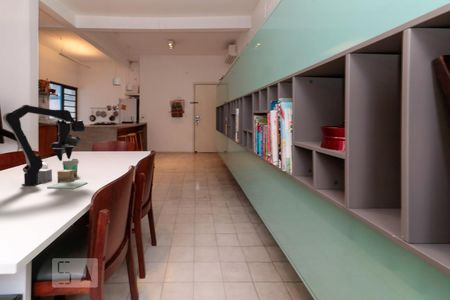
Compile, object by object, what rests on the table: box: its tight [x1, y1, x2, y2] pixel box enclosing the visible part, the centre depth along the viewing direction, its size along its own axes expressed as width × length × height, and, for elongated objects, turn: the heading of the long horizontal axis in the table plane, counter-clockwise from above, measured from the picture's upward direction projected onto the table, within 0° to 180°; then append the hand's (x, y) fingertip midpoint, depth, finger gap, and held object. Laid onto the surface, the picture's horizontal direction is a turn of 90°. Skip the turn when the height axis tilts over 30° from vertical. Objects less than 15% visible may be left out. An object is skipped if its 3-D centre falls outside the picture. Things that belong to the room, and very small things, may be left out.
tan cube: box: [56, 169, 75, 183], centre depth 178 cm, size 6×6×6 cm
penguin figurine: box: [41, 161, 49, 169], centre depth 190 cm, size 6×8×12 cm
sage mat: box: [46, 181, 88, 190], centre depth 166 cm, size 14×14×1 cm
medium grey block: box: [38, 168, 53, 182], centre depth 179 cm, size 6×6×6 cm
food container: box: [62, 158, 79, 178], centre depth 193 cm, size 12×6×10 cm, turn 179°
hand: (64, 159), depth 178 cm, fingers open, 9 cm apart
